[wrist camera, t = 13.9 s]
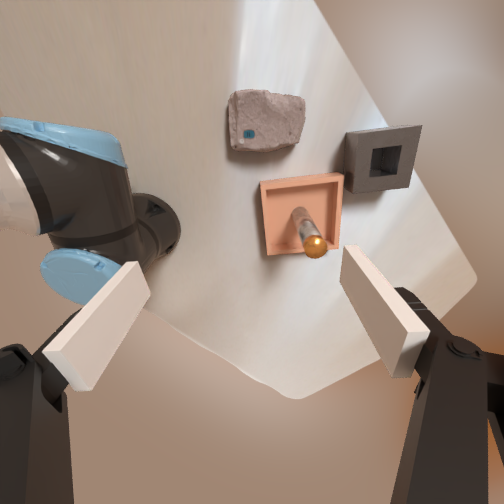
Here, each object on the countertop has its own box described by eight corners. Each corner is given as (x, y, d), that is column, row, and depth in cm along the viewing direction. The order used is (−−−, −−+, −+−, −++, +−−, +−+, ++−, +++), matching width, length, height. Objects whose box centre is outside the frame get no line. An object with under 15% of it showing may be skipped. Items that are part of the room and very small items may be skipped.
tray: (266, 247, 55) (267, 255, 52) (260, 181, 47) (260, 185, 44) (333, 241, 53) (338, 248, 50) (338, 171, 46) (344, 175, 43)
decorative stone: (230, 149, 44) (227, 152, 39) (230, 91, 40) (226, 86, 34) (297, 152, 44) (303, 155, 39) (304, 93, 40) (312, 89, 35)
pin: (291, 222, 51) (304, 259, 37) (291, 207, 49) (304, 239, 35) (307, 221, 50) (327, 257, 36) (307, 205, 49) (328, 237, 35)
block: (342, 186, 47) (352, 193, 42) (346, 132, 42) (358, 133, 37) (391, 180, 46) (408, 187, 41) (401, 125, 41) (422, 125, 36)
